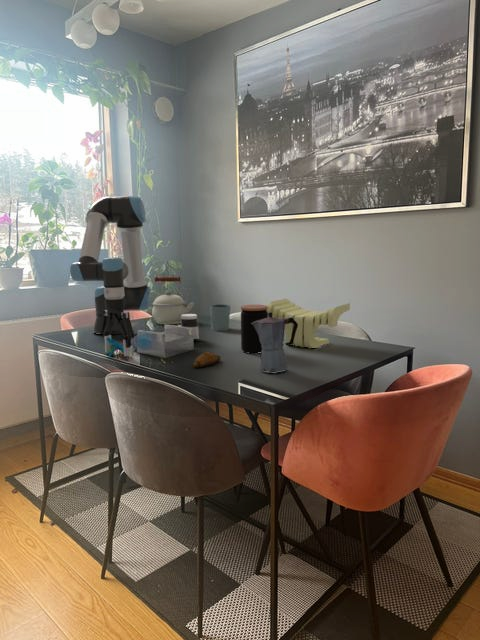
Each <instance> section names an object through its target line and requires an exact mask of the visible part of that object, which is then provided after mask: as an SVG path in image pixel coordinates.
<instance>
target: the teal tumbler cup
mask: <svg viewBox="0 0 480 640" xmlns="http://www.w3.org/2000/svg"><path fill="white" fill-rule="evenodd" d="M209 312H210V321H211V322H210V323H211V324H210V325H211V331H214V332H225V331H228V330H229V329H230V315H231V305H230V304H225V303H223V304H220V303H219V304H218V303H217V304H211V305H209Z"/></svg>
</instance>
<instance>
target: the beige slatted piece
mask: <svg viewBox="0 0 480 640" xmlns="http://www.w3.org/2000/svg"><path fill="white" fill-rule="evenodd" d="M267 306H268V309H267V312H268V313H270V312H271V313H273V314H272V317H274V318H279V319H284V318H287V319H288V318H291V317H292V318H293V319H294V320H295V321H296V322H297V324H298V327H297V330H296V333H295V337H294V340H293V344H292V345H293V346H292V347H297V346H300V347H299V348H304V347H308V348H307V349H311V348H315V347H318V346H320V345H323V344H326V343H329V342H330V340H329V338H323V337H318V336H317V337H316V333H317V330H318V329H319V327H320V326H328V327H330V328H334V327H337V326H338V321H339V319H340V316H342V315H343V314H345V313H346V312H348V311H350V307H351V303H346V304H343V305H338V306H336V307H333V308H331V309H330V308H329V310H327V311H316V310H315V311H314V310H312V311H311V310H309V309H306V308H302V307H301V306H299V305H296V304H295V303H293V302H291V301H290V300H289V299H287V298H282V299H278V300H274V301H270V302H269V303H268V304H267ZM268 317H269V316H268ZM293 327H294V324H293V323H289V324H285V330H284V333H285V336H286V339H285V340H286V343H289V342H290V340H291V335H292V331H293ZM294 345H295V346H294Z"/></svg>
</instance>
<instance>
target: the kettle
mask: <svg viewBox="0 0 480 640" xmlns="http://www.w3.org/2000/svg"><path fill="white" fill-rule="evenodd" d="M157 282H163V283H165V282H167V283H168V282H169V283H170V282H179V284H180V285H181V287H182V289H183V290H184V291H185V292H186V295H187V296H186V300H185V301H184V299H183V298H182V297H181V296H180V295H177V294H173V292H172V291H171V290H170V289H167V290H165V292H164V293H165V294H163V295H162V294H160V295H159V296H157V297H156V298H155V299H154V301H153V300H152V297H151V298H150V306H151V307H152V309H151V314H152V316H153V318H154V320H155V321H156V324H158V325H180V324H181V320H182V317H181V315H184V314H190V311H191V310H192V308H193V307H194V305H195V302H194V301H193V302H192V301H191V302H190V303H189V304H187V303H188V300H189V292H188V290H187V289H186V287H184V285H183V283H182V276H178V277H176V276H161V277H158V276H154V285H153V286H152V287H151V291H152V290H153V289H154V288H155V286H156V284H157Z"/></svg>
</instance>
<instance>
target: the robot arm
mask: <svg viewBox="0 0 480 640" xmlns="http://www.w3.org/2000/svg"><path fill="white" fill-rule="evenodd" d="M146 217H147V216H146V211H145V205H144V203H143V200H142V199H141V198H140V197H139V196H132V195H129V196H128V195H127V196H104V197H102V198H99V199H97V201H94V203H93V204H92V205H91V206H90V207H89V209H88V210H87V213H86V216H85V222H86V226H85V231H84V236H83V240H82V245H81V249H80V253H79V257H78V261H76V262H72V263H71V264H70V266H69V270H70V271H69V274H70V278H71V279H72V280H73V281H74V282H103V285H102V286H98V287H96V288H95V289H94V298H93V299H94V306H95V322H94V325H93V328H92V332H95V333H100V334H103V335H102V336H103V339H104V341H103V342H104V351H105V353H107V352H108V351H109V350H110V345H111V344H110V343H109V342H108V341H107V340H106V339H107V338H108V337H109V338H111V339H112V335H111V334H115V335H119V333H120V334H122V336H123V339H122V342H123V345H122V346H123V348H124V353H123V357H129V356H131V355H132V354H131V353H132V351H131V350H132V349H131V347H132V345H131V339H132V338H134V336H135V333H134V329H133V325H132V321H131V316H130V312H129V311H132V312H133V311H136V312H137V311H139V312H140V311H146V310H148V309H149V307H150V306H151V301H150V298H151V299H152V297H151V295H152V290H151V289H152V287H151V286H149V285H148V282H147V281H146V280H145V279H144V268H143V267H144V266H143V256H142V243H141V229H142V228H143V226H144V223H146V219H147V218H146ZM109 224H116V228H117V229H119V231H120V237H121V246H122V247H121V248H122V258H121V257H104V258H103V259H102V261H99V260H100V254H101V249H102V244H103V239H104V233H105V229H106V228H107V227H108V225H109ZM126 311H128V312H126ZM111 351H112V350H111ZM111 351H110V352H111Z"/></svg>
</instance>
